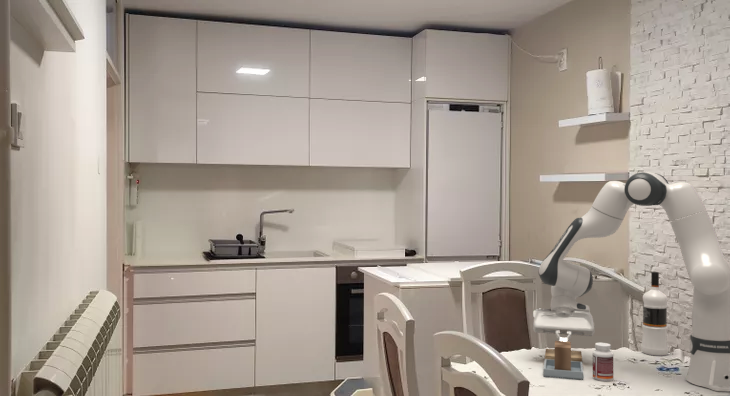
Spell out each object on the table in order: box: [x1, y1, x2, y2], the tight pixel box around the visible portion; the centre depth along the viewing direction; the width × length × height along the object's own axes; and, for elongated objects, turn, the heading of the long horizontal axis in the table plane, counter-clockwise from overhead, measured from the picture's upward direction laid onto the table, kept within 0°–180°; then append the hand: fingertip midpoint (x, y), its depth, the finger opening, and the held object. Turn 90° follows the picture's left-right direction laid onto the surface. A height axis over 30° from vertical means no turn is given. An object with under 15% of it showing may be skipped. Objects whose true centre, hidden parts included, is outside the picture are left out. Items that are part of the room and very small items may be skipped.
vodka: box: [640, 271, 669, 357], centre depth 232 cm, size 9×9×30 cm
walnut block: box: [554, 340, 572, 371], centre depth 206 cm, size 5×9×9 cm
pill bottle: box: [592, 342, 614, 382], centre depth 200 cm, size 6×6×11 cm
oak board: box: [544, 348, 583, 363], centre depth 218 cm, size 12×10×4 cm
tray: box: [543, 358, 584, 381], centre depth 206 cm, size 12×13×2 cm
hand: (563, 343), depth 213 cm, fingers closed
